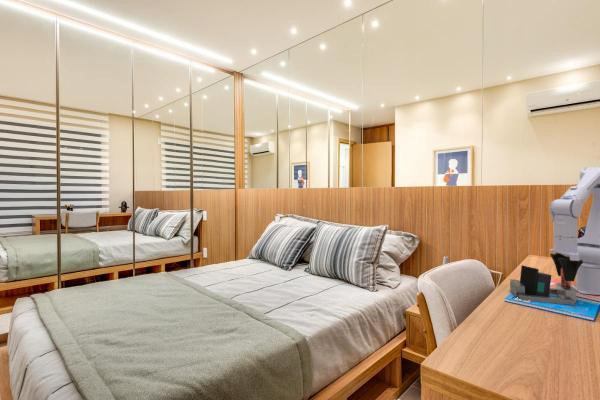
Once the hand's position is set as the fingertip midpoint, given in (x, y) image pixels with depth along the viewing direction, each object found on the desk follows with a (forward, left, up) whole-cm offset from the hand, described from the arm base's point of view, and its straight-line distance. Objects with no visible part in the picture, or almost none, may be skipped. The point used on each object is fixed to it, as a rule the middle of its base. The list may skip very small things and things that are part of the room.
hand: (565, 278), depth 97 cm
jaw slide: (0, 0, -7) cm, 7 cm away
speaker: (+8, 0, -7) cm, 11 cm away
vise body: (+7, 0, -7) cm, 9 cm away
